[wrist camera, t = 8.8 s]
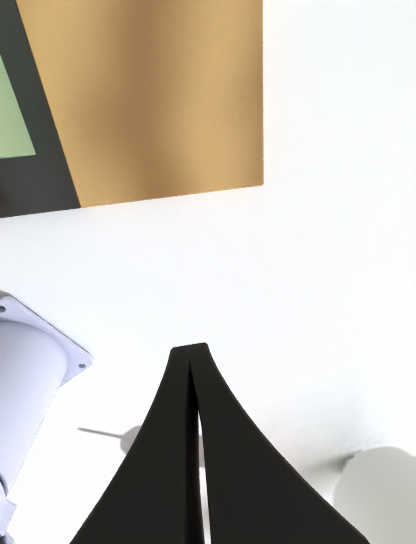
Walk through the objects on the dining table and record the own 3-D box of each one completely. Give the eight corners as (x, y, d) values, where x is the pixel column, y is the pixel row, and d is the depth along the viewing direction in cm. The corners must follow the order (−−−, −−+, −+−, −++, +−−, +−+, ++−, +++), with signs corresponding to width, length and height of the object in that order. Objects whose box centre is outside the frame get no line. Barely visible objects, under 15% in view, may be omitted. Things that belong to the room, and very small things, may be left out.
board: (255, -101, 11) (262, -123, 10) (259, 183, 17) (264, 185, 16) (-244, -76, 10) (-285, -98, 9) (-68, 224, 15) (-83, 228, 14)
